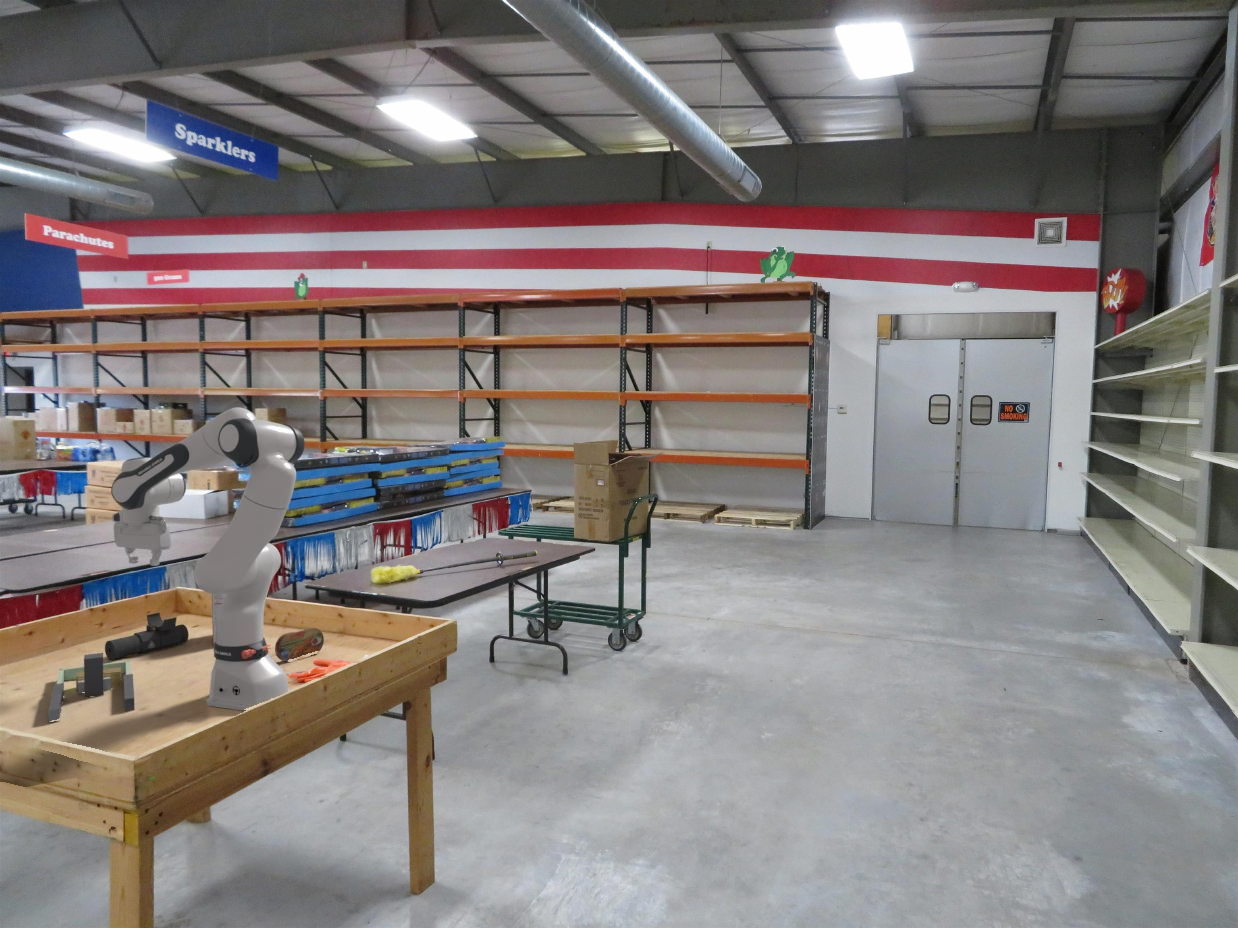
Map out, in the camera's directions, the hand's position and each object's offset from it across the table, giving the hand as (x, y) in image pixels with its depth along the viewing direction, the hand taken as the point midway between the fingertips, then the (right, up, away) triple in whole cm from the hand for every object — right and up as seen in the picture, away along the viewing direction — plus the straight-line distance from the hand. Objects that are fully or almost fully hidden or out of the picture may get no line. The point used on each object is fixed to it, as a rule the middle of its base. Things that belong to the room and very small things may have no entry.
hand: (144, 564), depth 221 cm
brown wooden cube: (-1, -31, -12) cm, 33 cm away
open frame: (-6, -30, -11) cm, 33 cm away
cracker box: (+7, -28, +31) cm, 42 cm away
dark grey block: (-1, -31, -19) cm, 36 cm away
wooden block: (-6, -31, -15) cm, 35 cm away
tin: (+38, -30, +14) cm, 50 cm away
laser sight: (-9, -29, +17) cm, 35 cm away
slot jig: (+2, -31, -25) cm, 40 cm away
